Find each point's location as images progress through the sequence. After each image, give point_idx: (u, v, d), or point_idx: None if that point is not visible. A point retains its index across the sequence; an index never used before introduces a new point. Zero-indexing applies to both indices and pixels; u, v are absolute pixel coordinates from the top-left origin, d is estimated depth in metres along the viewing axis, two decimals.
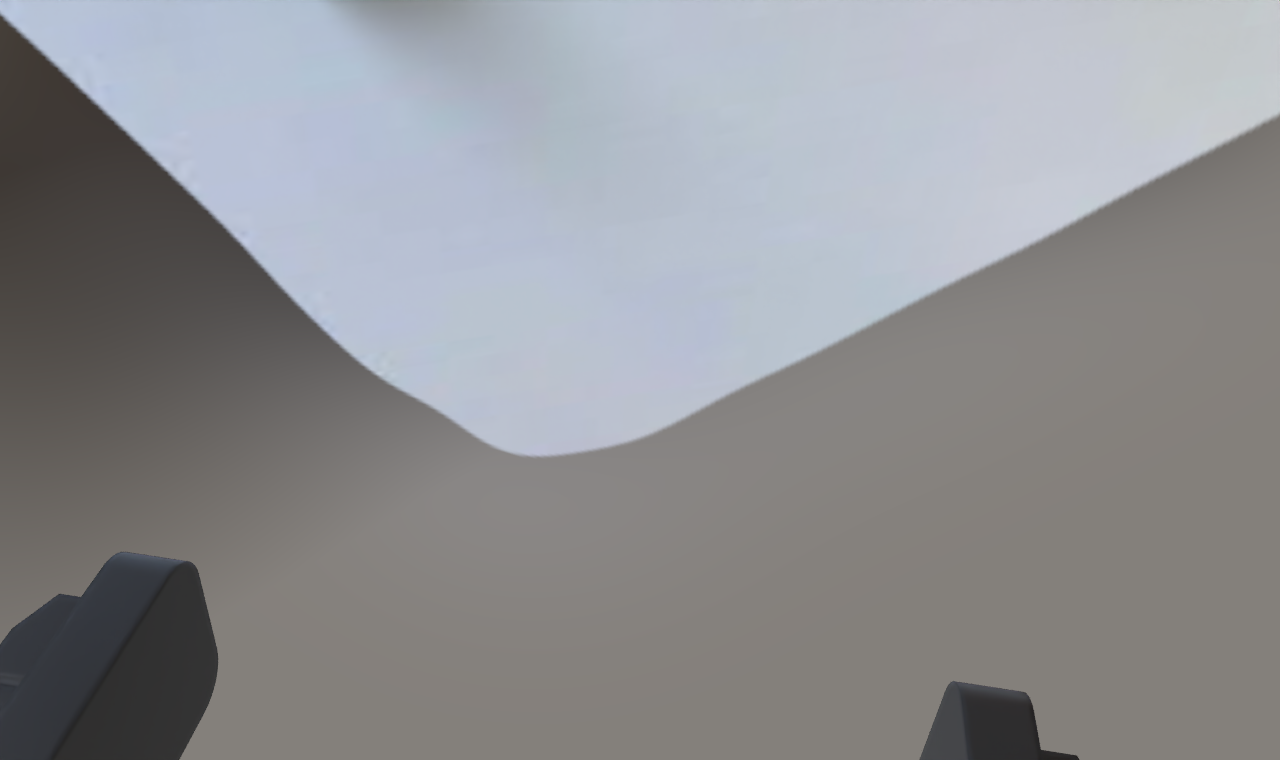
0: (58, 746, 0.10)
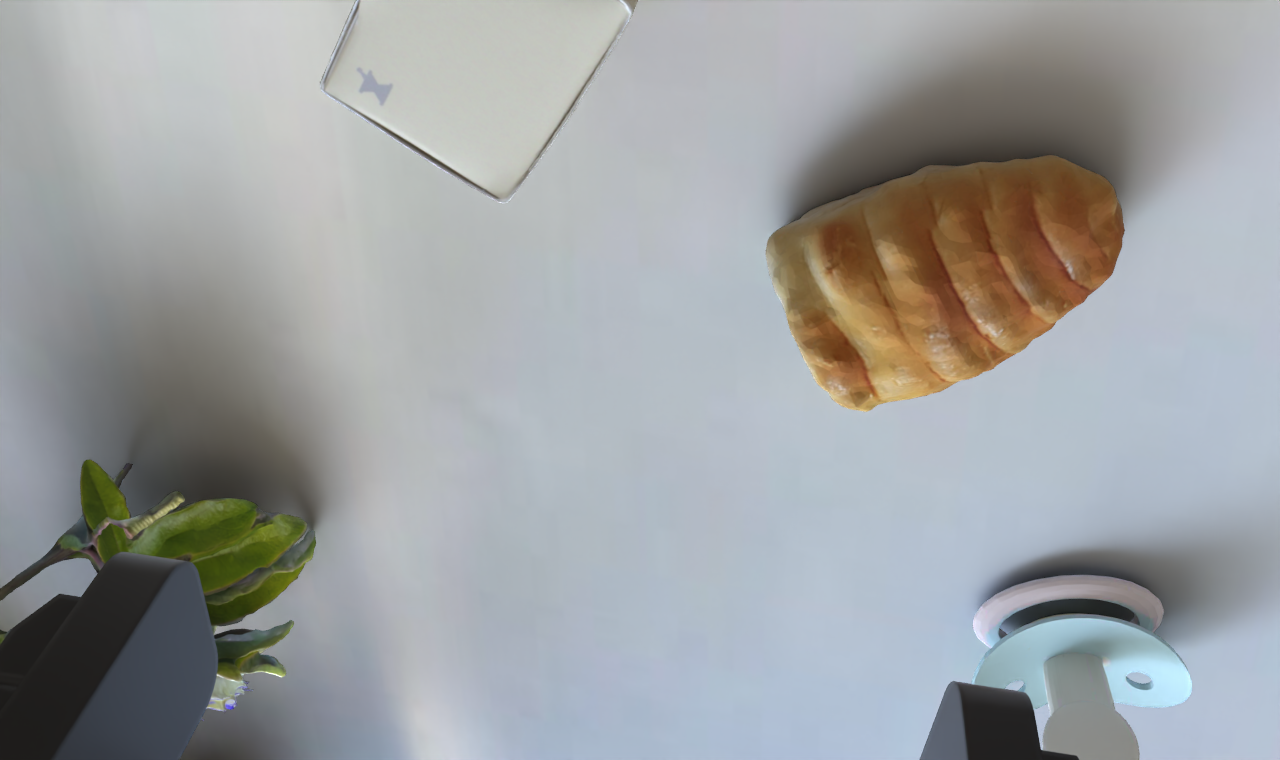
0: (58, 747, 0.10)
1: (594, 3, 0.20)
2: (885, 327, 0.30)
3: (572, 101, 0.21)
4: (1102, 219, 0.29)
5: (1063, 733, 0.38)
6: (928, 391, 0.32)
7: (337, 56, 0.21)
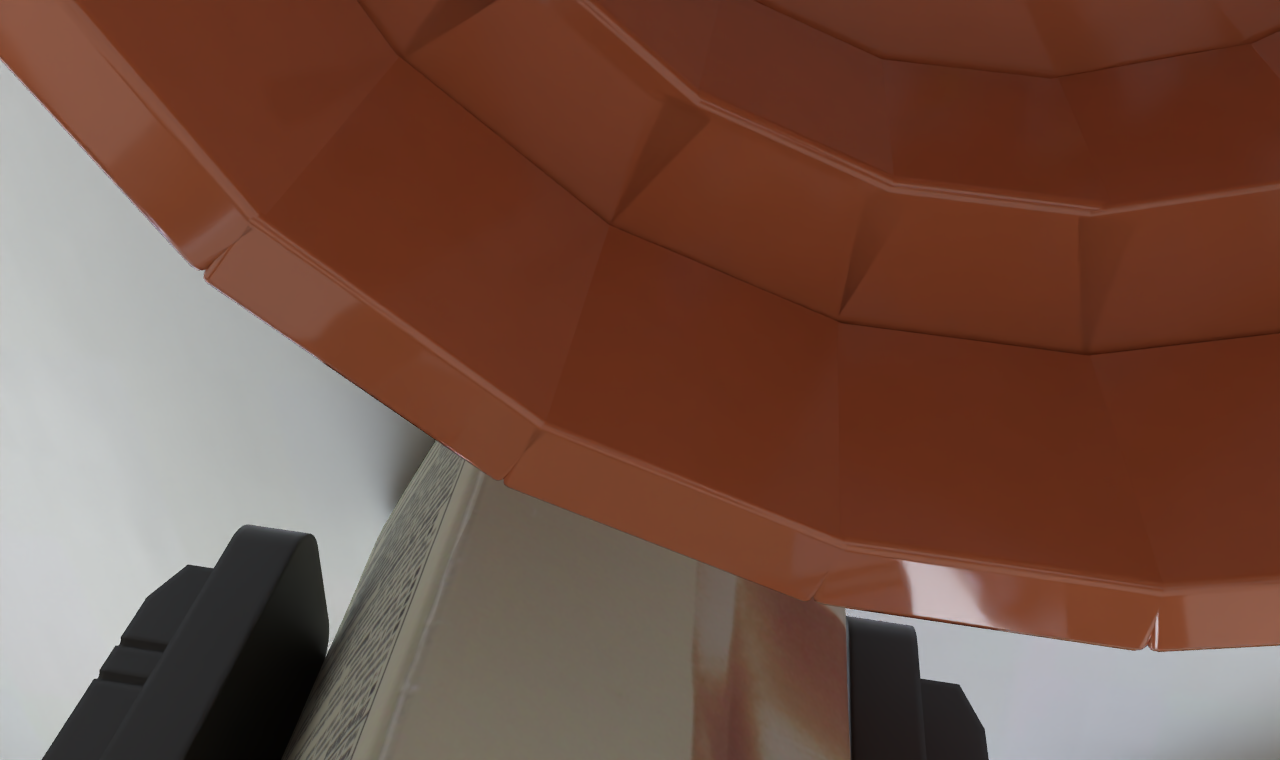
0: (210, 706, 0.10)
1: None
2: None
3: None
4: None
5: None
6: None
7: None
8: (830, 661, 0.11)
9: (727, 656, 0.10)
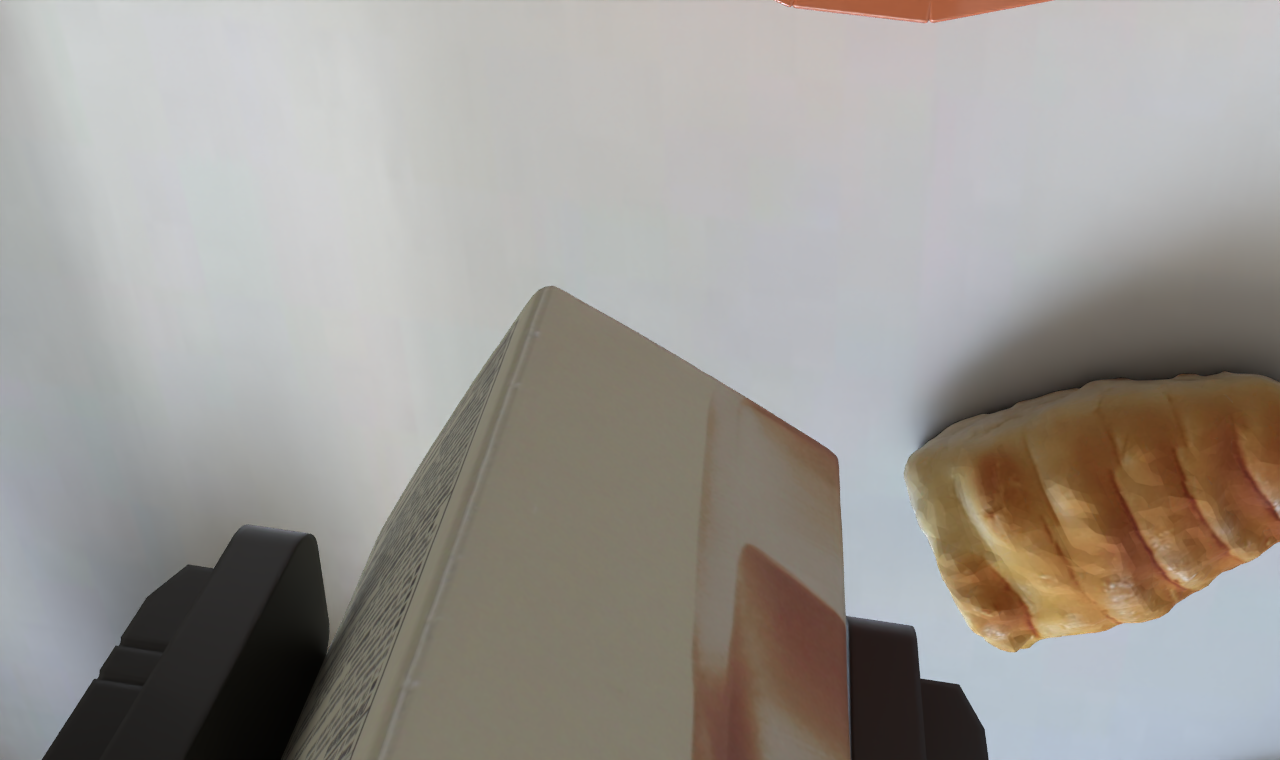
0: (210, 705, 0.10)
1: None
2: (1057, 576, 0.26)
3: None
4: None
5: None
6: (1099, 631, 0.28)
7: None
8: (830, 658, 0.11)
9: (727, 653, 0.10)
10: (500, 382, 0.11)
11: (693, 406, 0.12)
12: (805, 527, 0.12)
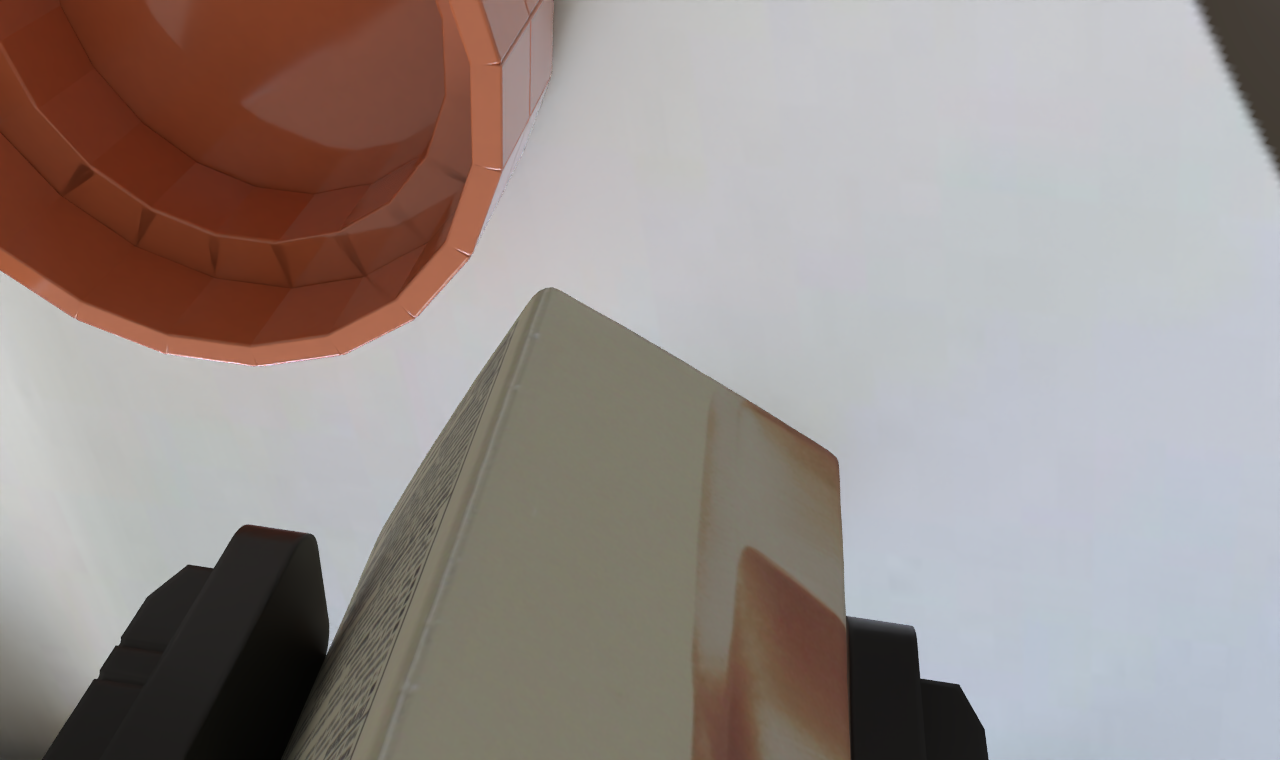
0: (210, 706, 0.10)
1: None
2: None
3: None
4: None
5: None
6: None
7: None
8: (830, 661, 0.11)
9: (727, 656, 0.10)
10: (500, 384, 0.11)
11: (693, 408, 0.12)
12: (805, 529, 0.12)
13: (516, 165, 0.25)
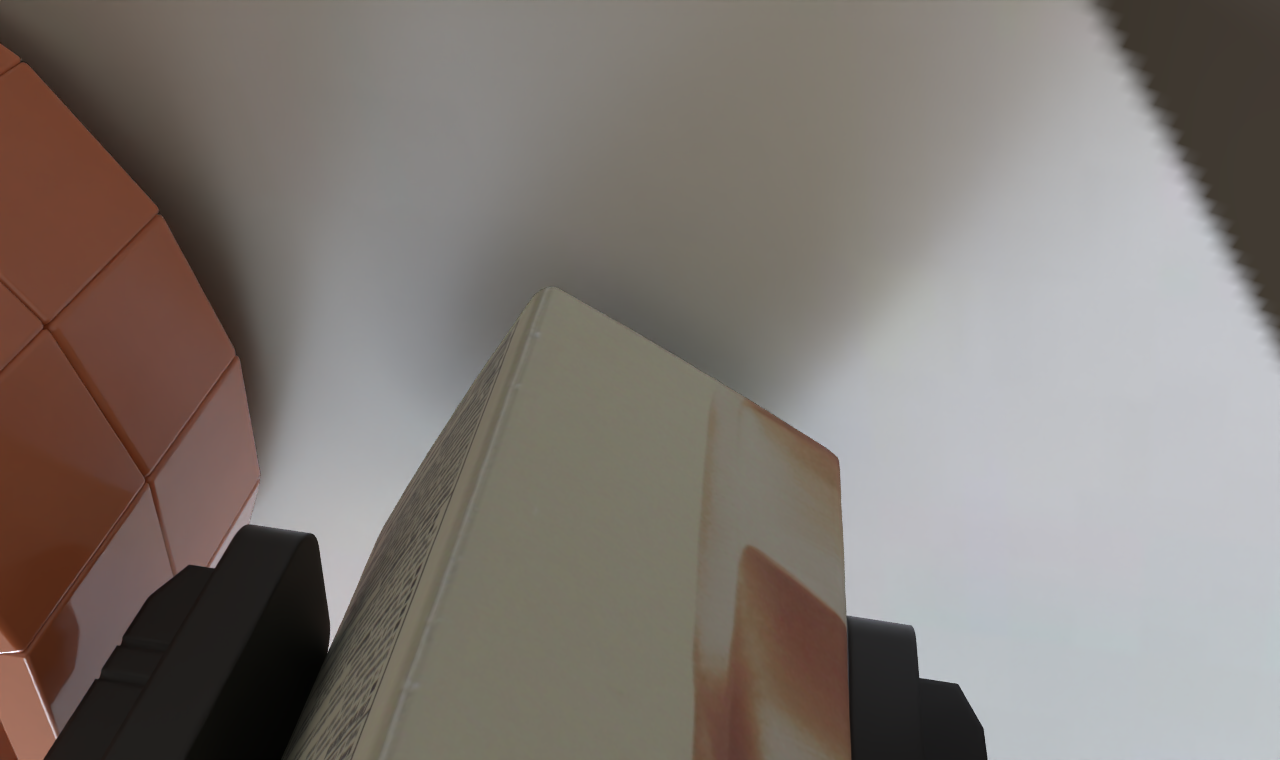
0: (211, 705, 0.10)
1: None
2: None
3: None
4: None
5: None
6: None
7: None
8: (831, 660, 0.11)
9: (727, 655, 0.10)
10: (500, 383, 0.11)
11: (694, 407, 0.12)
12: (806, 528, 0.12)
13: None
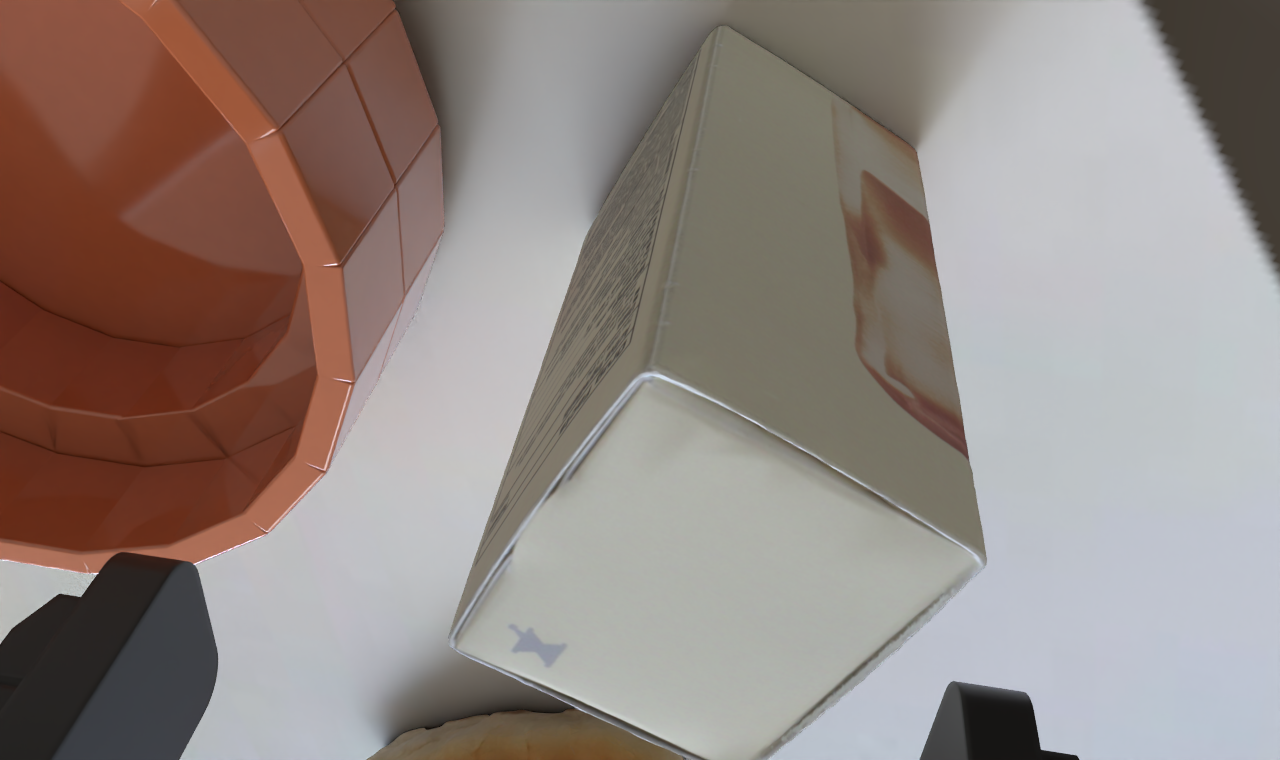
0: (58, 747, 0.10)
1: (919, 550, 0.11)
2: None
3: (862, 661, 0.13)
4: None
5: None
6: None
7: (476, 607, 0.13)
8: (922, 232, 0.17)
9: (859, 209, 0.16)
10: (702, 68, 0.17)
11: (821, 101, 0.18)
12: (899, 174, 0.18)
13: (404, 332, 0.21)
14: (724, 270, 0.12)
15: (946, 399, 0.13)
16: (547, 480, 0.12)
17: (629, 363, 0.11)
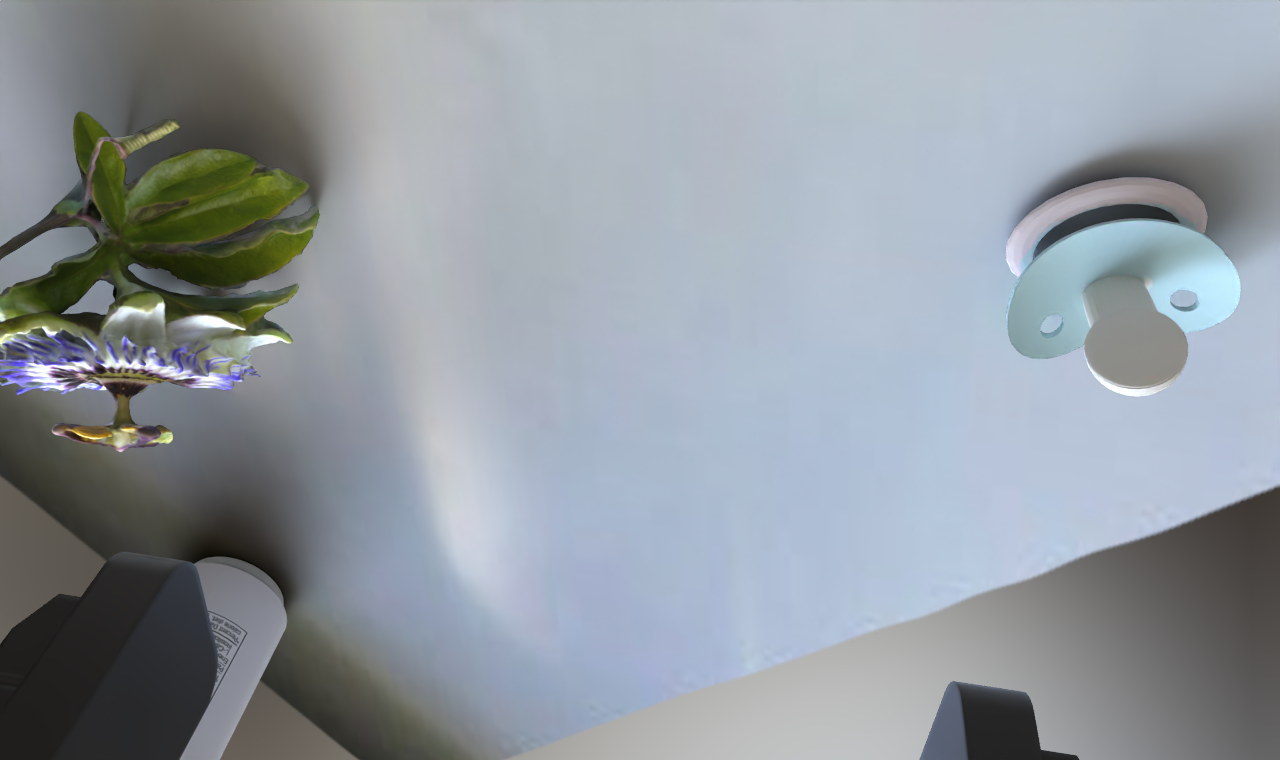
0: (58, 746, 0.10)
1: None
2: None
3: None
4: None
5: (1106, 337, 0.36)
6: None
7: None
8: None
9: None
10: None
11: None
12: None
13: None
14: None
15: None
16: None
17: None
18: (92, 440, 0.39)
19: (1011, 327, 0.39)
